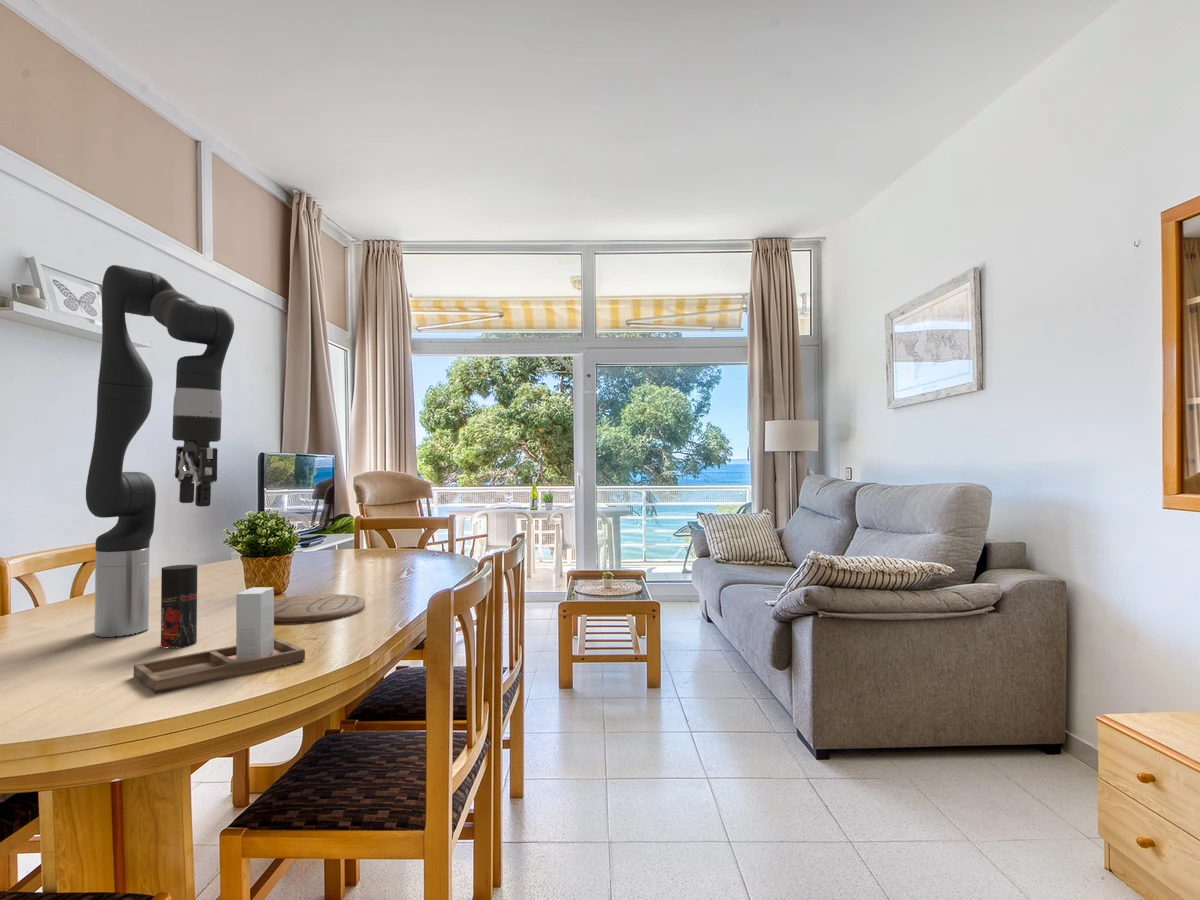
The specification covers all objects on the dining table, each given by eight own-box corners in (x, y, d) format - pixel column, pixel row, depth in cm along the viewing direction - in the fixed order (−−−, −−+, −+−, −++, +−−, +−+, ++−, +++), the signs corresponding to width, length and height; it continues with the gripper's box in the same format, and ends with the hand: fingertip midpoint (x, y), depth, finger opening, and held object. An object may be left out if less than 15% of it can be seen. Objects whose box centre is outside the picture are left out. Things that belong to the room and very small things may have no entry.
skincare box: (250, 653, 123) (250, 587, 123) (274, 652, 123) (274, 586, 123) (234, 663, 117) (235, 593, 117) (260, 662, 117) (261, 593, 117)
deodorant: (203, 642, 133) (204, 565, 133) (173, 649, 127) (174, 570, 128) (184, 638, 135) (184, 563, 135) (153, 646, 130) (154, 568, 130)
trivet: (234, 627, 146) (234, 618, 146) (267, 603, 170) (267, 596, 170) (356, 622, 150) (356, 614, 150) (371, 599, 175) (371, 592, 175)
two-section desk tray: (133, 677, 111) (133, 664, 111) (276, 648, 128) (276, 637, 128) (155, 694, 103) (155, 680, 103) (304, 660, 120) (304, 649, 120)
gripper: (234, 415, 120) (231, 507, 120) (206, 416, 130) (203, 501, 129) (187, 412, 114) (184, 508, 114) (161, 414, 124) (158, 502, 124)
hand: (194, 504), depth 122 cm, fingers open, 8 cm apart
